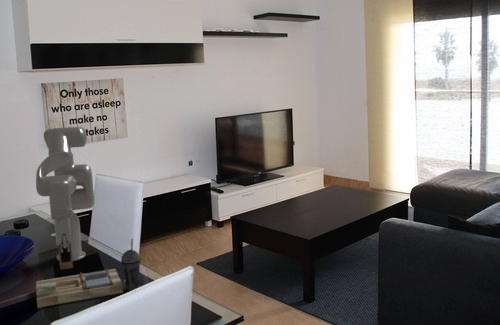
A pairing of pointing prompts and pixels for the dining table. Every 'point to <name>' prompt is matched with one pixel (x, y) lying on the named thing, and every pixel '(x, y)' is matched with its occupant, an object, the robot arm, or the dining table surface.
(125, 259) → the beverage cup
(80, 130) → the robot arm
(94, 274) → the lid
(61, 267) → the walnut block
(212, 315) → the dining table surface
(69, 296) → the puzzle board
